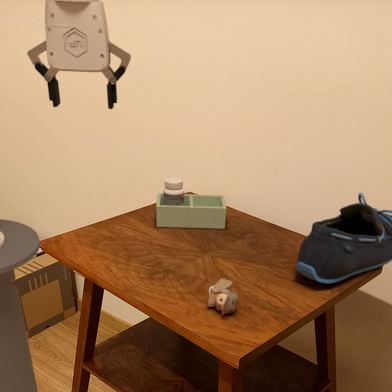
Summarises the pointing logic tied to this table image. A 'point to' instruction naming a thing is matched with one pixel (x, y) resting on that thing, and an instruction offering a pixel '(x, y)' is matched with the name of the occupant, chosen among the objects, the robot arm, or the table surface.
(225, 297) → the toy character
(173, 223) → the rack
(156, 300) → the table surface
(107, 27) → the robot arm
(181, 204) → the pill bottle
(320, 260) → the moccasin
